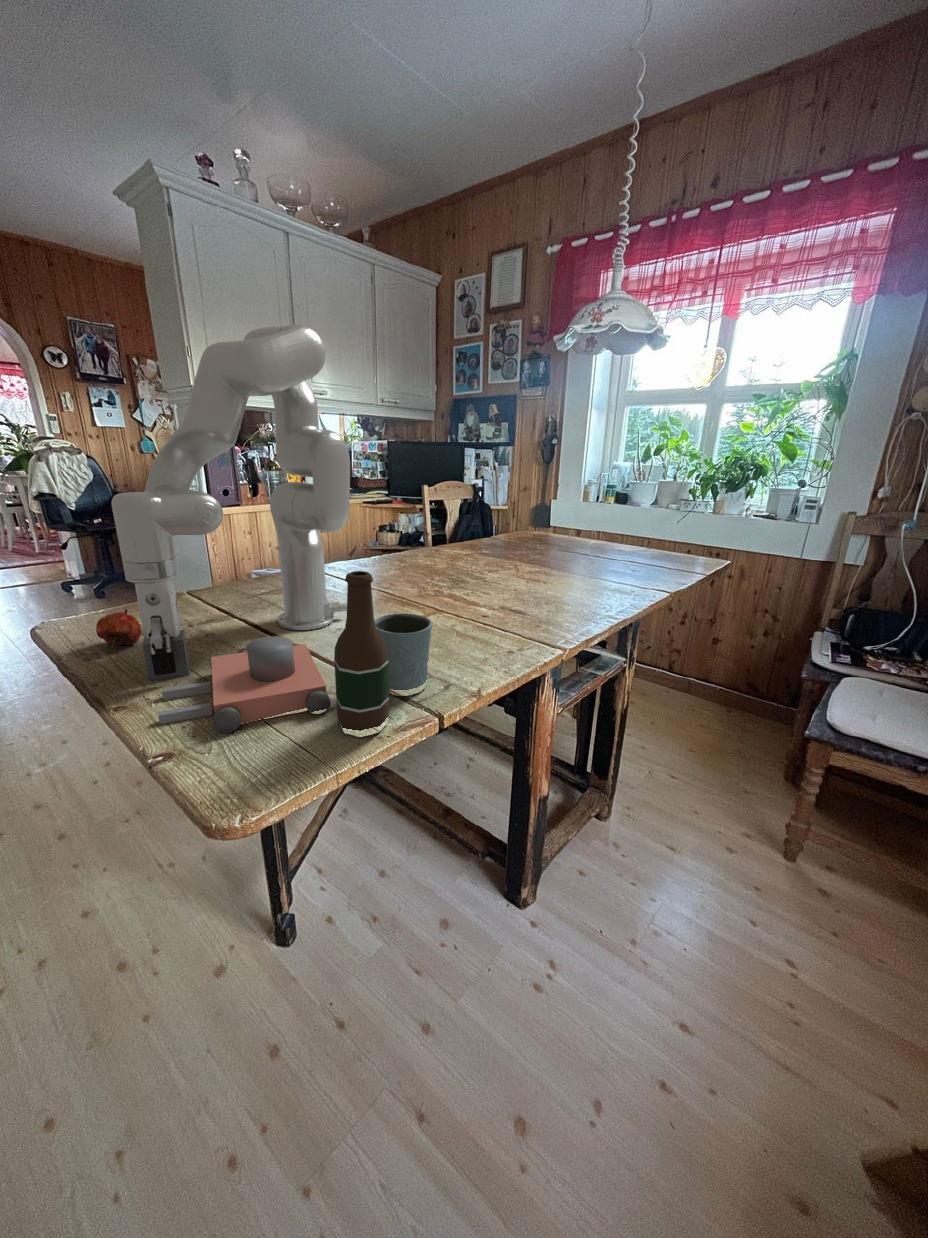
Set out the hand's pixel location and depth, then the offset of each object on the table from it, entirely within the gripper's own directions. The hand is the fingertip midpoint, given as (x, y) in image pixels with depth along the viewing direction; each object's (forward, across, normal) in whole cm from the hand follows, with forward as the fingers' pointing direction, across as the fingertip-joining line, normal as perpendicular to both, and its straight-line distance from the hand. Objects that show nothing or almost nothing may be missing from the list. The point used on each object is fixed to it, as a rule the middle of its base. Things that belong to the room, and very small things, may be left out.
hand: (167, 662), depth 87 cm
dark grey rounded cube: (+2, 0, 0) cm, 2 cm away
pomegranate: (+2, +16, +9) cm, 18 cm away
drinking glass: (+2, -20, -37) cm, 42 cm away
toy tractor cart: (+2, -14, -12) cm, 18 cm away
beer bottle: (+2, -30, -27) cm, 40 cm away
